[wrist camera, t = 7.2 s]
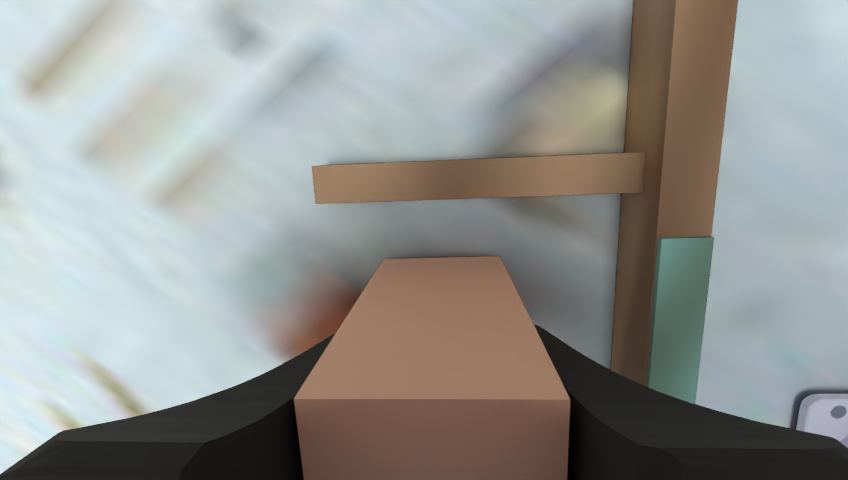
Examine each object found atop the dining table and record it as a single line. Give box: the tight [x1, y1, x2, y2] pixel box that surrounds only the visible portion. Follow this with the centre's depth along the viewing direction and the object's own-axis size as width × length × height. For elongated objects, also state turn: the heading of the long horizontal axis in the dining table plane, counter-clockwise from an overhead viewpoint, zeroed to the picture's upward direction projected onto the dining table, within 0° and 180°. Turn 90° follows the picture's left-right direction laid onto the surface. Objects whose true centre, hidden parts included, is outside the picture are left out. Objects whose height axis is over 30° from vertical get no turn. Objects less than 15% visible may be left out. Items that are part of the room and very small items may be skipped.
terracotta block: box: [294, 256, 570, 480], centre depth 10 cm, size 4×4×8 cm
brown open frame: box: [312, 0, 738, 404], centre depth 13 cm, size 12×30×3 cm, turn 2°
